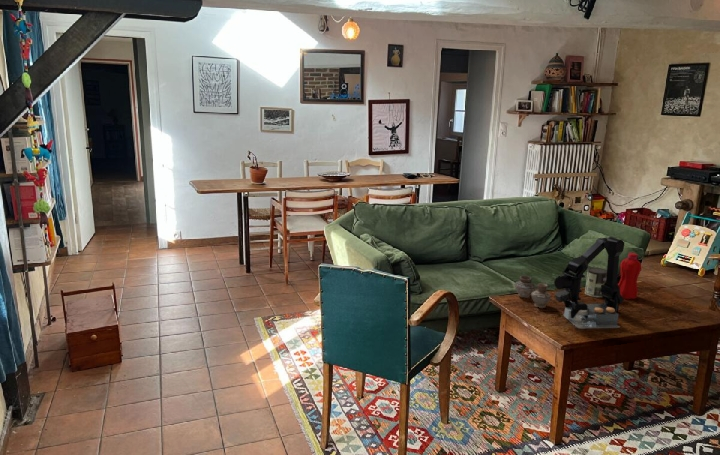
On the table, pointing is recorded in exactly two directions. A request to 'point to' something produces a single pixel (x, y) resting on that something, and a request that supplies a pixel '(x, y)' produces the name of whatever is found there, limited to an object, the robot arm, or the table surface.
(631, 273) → the water bottle
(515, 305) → the table surface
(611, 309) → the plunger
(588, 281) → the coffee can
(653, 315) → the table surface
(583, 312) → the cube-topped plunger
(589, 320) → the grey slotted base
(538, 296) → the pottery
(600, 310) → the plunger
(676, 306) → the table surface
